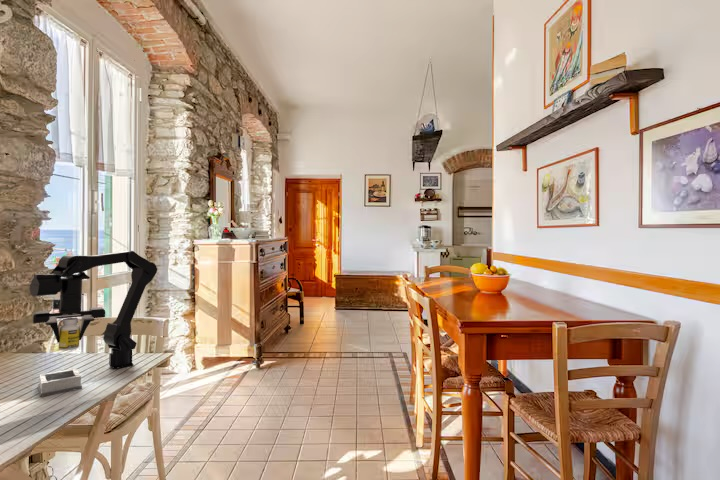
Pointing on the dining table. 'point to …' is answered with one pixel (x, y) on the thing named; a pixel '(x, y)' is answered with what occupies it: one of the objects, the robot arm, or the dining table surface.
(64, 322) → the supplement bottle
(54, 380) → the socket collar
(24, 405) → the dining table surface
